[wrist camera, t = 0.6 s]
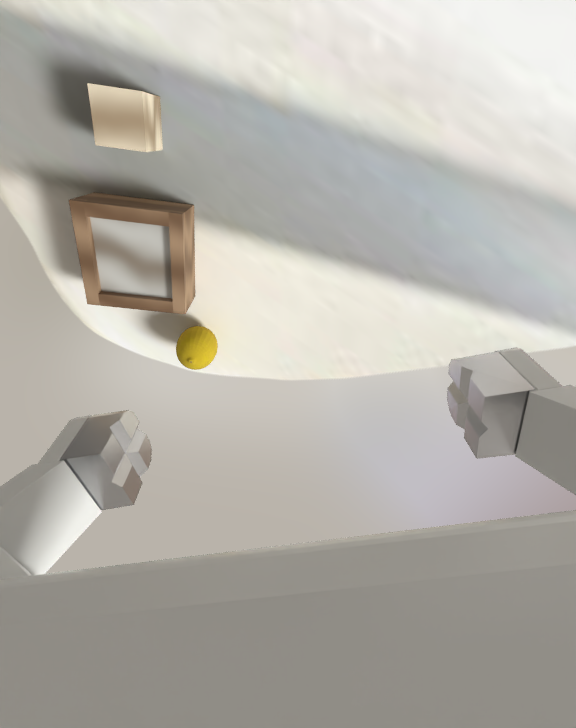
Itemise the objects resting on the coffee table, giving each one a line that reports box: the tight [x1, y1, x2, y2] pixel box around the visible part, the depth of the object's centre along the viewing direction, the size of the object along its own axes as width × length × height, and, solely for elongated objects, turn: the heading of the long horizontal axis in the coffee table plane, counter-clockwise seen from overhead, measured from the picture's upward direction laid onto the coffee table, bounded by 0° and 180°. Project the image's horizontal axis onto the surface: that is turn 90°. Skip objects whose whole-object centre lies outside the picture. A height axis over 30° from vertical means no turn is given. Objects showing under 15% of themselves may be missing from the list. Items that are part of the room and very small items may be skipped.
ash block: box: [87, 83, 163, 152], centre depth 38 cm, size 5×5×6 cm
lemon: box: [176, 326, 217, 370], centre depth 51 cm, size 6×6×8 cm
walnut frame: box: [69, 192, 195, 314], centre depth 45 cm, size 12×12×6 cm
